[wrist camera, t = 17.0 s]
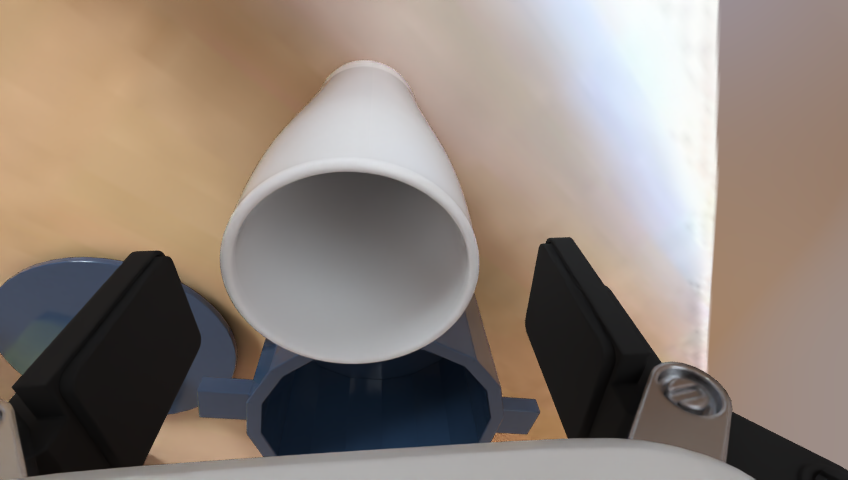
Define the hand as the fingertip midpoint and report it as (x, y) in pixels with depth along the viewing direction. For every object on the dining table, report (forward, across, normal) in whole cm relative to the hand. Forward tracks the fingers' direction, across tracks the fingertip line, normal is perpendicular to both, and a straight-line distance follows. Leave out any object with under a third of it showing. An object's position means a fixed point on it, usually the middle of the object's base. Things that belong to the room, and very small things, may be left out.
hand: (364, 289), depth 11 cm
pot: (+15, 0, +15) cm, 21 cm away
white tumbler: (+15, 0, -1) cm, 15 cm away
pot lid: (+14, +19, +16) cm, 29 cm away
